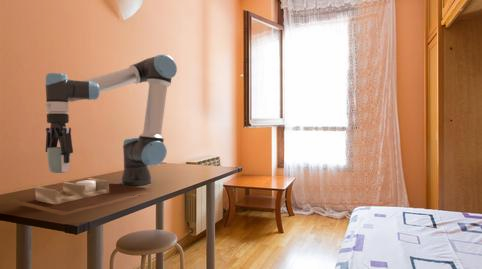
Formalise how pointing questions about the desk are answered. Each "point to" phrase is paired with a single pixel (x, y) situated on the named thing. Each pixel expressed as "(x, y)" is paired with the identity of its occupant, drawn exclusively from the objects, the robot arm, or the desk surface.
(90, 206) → the desk surface
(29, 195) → the desk surface
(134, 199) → the desk surface
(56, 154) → the cup
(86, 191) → the white rounded piece
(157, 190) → the desk surface
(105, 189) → the rack
